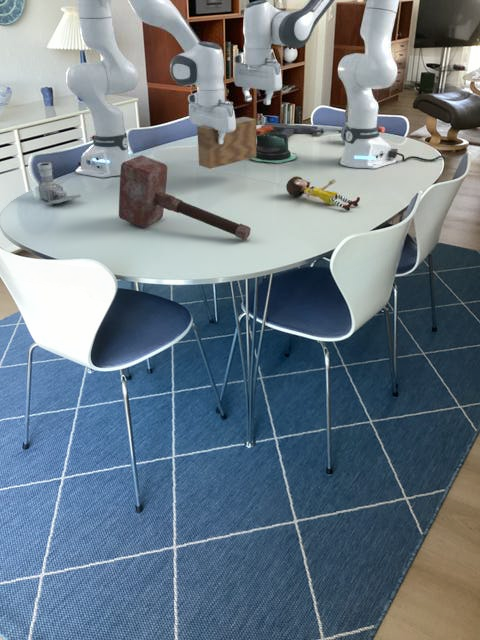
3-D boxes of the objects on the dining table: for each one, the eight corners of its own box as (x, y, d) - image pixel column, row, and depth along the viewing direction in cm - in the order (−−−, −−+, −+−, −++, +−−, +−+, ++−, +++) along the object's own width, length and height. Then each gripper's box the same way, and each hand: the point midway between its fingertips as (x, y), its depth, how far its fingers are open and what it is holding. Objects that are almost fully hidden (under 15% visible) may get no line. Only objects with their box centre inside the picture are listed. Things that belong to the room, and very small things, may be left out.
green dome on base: (302, 149, 235) (294, 163, 219) (265, 168, 244) (254, 183, 227) (286, 117, 230) (276, 128, 213) (248, 137, 238) (236, 150, 222)
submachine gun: (243, 132, 260) (267, 122, 278) (243, 138, 261) (267, 127, 280) (305, 138, 246) (326, 127, 265) (305, 144, 248) (326, 133, 266)
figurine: (345, 200, 166) (278, 176, 178) (341, 223, 170) (275, 198, 182) (367, 189, 174) (301, 166, 186) (362, 211, 179) (298, 188, 191)
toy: (345, 120, 249) (377, 123, 242) (343, 139, 253) (375, 143, 246) (337, 123, 243) (369, 127, 236) (336, 143, 247) (367, 147, 240)
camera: (50, 159, 186) (76, 167, 177) (57, 193, 192) (81, 203, 184) (27, 164, 181) (51, 173, 172) (34, 199, 187) (58, 209, 178)
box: (210, 168, 186) (208, 129, 179) (199, 165, 190) (197, 126, 183) (256, 156, 198) (256, 119, 191) (244, 153, 202) (244, 116, 195)
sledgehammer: (261, 199, 150) (139, 153, 161) (245, 210, 142) (119, 161, 154) (249, 254, 160) (136, 207, 171) (234, 267, 153) (116, 217, 164)
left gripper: (240, 100, 174) (240, 145, 181) (199, 93, 187) (201, 135, 194) (224, 103, 171) (225, 149, 178) (184, 95, 184) (187, 138, 191)
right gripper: (286, 58, 175) (286, 105, 182) (244, 55, 189) (245, 98, 196) (272, 60, 172) (272, 107, 179) (230, 56, 185) (231, 100, 192)
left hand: (212, 141), depth 186 cm, fingers closed on box, 6 cm apart
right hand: (257, 102), depth 188 cm, fingers open, 8 cm apart
